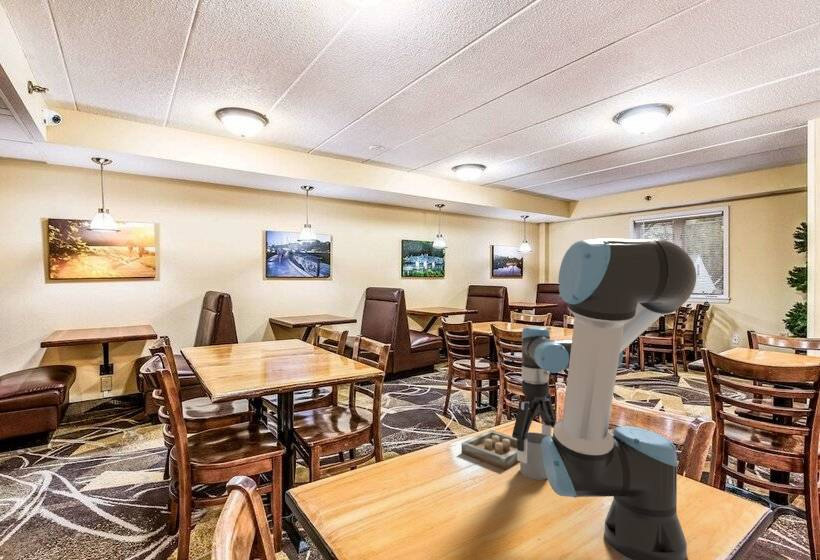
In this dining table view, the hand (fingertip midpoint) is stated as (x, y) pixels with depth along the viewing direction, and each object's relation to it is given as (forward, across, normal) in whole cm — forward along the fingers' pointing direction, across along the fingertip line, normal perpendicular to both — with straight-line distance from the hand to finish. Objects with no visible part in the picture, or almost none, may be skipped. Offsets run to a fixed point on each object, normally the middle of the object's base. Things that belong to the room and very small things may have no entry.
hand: (534, 453), depth 120 cm
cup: (+5, 0, 0) cm, 5 cm away
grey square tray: (+5, +3, +15) cm, 16 cm away
